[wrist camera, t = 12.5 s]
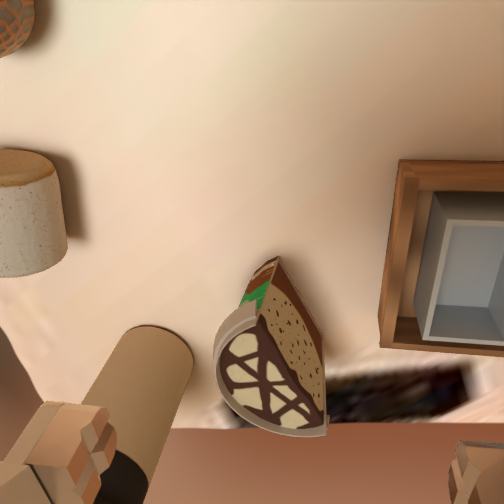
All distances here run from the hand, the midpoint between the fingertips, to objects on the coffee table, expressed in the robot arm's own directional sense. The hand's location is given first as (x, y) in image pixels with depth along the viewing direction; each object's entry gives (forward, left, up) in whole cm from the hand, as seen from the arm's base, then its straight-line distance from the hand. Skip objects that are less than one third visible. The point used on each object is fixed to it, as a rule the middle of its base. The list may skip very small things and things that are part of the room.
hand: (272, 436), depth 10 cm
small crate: (+9, +12, -24) cm, 28 cm away
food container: (+16, -3, -25) cm, 30 cm away
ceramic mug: (+5, -24, -25) cm, 35 cm away
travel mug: (+23, -15, -25) cm, 37 cm away
